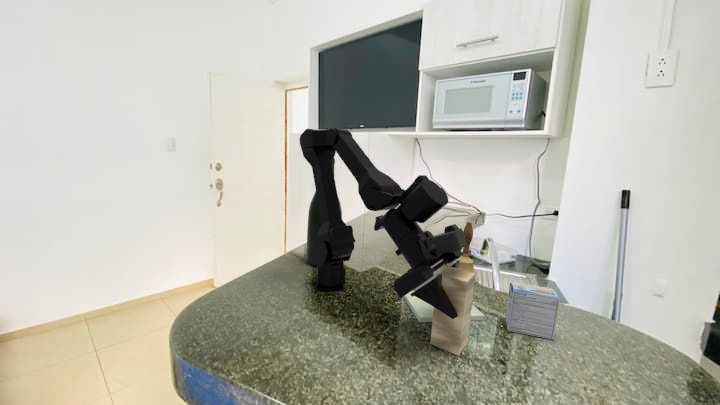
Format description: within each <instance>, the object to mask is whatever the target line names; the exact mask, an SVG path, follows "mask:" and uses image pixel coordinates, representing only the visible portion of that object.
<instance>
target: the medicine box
mask: <svg viewBox="0 0 720 405" xmlns="http://www.w3.org/2000/svg"><path fill="white" fill-rule="evenodd" d="M508 289H509V290H508V293H507V294H508V295H507V305H506V309H505V310H506V312H505V323H506V327H507V328H506V329H507V331H509V332H514V333H518V334H523V335H528V336H533V337H539V338H542V339H546V340H547V339H548V340H552V341H554V340H555V332H556V329H557V328H556V326H557V319H558V314H559V309H560V303H561V302H560V301H561V298H560V297H559V295H558V293H557V292H556V291H555V290H554V288H550V287H546V286H539V285H534V284H533V285H532V284H528V283H520V282H514V281H510V282H509V288H508Z"/></svg>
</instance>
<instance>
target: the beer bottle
mask: <svg viewBox="0 0 720 405" xmlns="http://www.w3.org/2000/svg"><path fill="white" fill-rule="evenodd" d="M335 163H336V160H335V157H334V158H333V161H332V168H333V173H334V174H335ZM338 201H339V206H340V212H341V217H342V218H343V215H342V214H343V213H342V212H343V210H342V206H341V201H340V197H338ZM307 216H308V218H307V230H306V231H307V232H306V254H305V258H306V262H307V263H308V264H309V265H311V266H313V267H314V266H315V267H317V265H316V264H314V263H312V262H311V258H310V253H311V252H312V251H313V250H314V249H315V247H316V246H317V245H318V238H317V236H318V233H319V230H320V227H321V225H322V222H321V216H320V210H319V205H318V199H317V193H316V190H315V191H314V194H313V197H312V198H311V201H310V204H309V208H308V215H307Z"/></svg>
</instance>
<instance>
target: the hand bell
mask: <svg viewBox="0 0 720 405" xmlns="http://www.w3.org/2000/svg"><path fill="white" fill-rule="evenodd" d="M473 228H474V227H473V224H472V222H469V221H467V222H466V224H465V226H464V228H463V230H462V231H463V232H465V233H466V236H465V237H464V239H465V242H466V244H467V246H466V247H463V248H462V253H463V254H464V255H462V256H461V257H459V258H458V259H456V260H455V261H456V262H457V261H459V260H460V263H459V266H458V269H461V270H465V271H468V272H472V273H476V271H475V268H474V263H475V262H474V260H473V259H472V258H470V257H469V256H470V246H471V243H472V241H473V236H474V229H473ZM456 262H455V263H456ZM479 282H480V279H479V276H478V275H477V274H476V276H475V284H476V283H479Z"/></svg>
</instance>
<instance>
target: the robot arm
mask: <svg viewBox="0 0 720 405" xmlns="http://www.w3.org/2000/svg"><path fill="white" fill-rule="evenodd" d="M299 145H300V148H301V152H302V155H303V158H304V159H305V160H306V162H308V164H309V165H310V166H311V169H312V174H313V176H312V177H313V180H314V182H313V183H314V186H315V188H314V189H315V191H316V193H317V199H318V205H319V210H320V216H321V222H322V225H321V227H320V230H319V233H318V236H317V238H318V245H317V246H316V247H315V249H314V250H313V251H312V252H311V253H310V258H311V262H312V263H314V264H316V265H317V266H316V268H317V270H316V279H315V281H316V282H315V283H316V291H343V290H344V285H346V266H345V265H344V262H348V261H349V262H350V260H351V256H352V254H353V251H354V250H355V243H356V239H355V236H354V230H353V229H354V228H353V227H352V225H351V224H350V225H347V224H346V222H344V220H343V216H342V217H341V212H340V206H339V201H340V200H339V201H338V198H339V195H338V190H337V185H336V179H335V172H334V173H333V168H332V161H333V158H335V156H336V154H337V155H338V157H339V158H340V160H341V161H342V162H343V163H344V165H345V166H346V168H347V169H348V171H350V174H352V176H353V177H354V179H355V180H356V182H357V184H358V186H357V188H358V189H357V192H358V195H359V197H360V198H361V201H362V202H363V204H364V207H365V208H366V209H367V210H369V211H372V212H379V211H387V212H385V213H384V214H381V215H378V216H376V217H375V223H374V228H373V230H374V231H375V232H377V231H379V230H382V229H384V230H385V232H386V234H388V236H389V237H390V239H391V241H392V242H393V243H394V244H395V246H396V247H397V249H396V250H395V251H394V253H395V255H396V256H397V257H400V256H401V255H402V256H403V258H404V260H405V261H406V262H407V264H408V265H409V267H410V268H409V269H408V270H407V271H406V272H405V273H403V274H401V276H399V277H397V278H396V279H395V280H394V281H393V286H392V289H393V290H394V292H395V293H396V295H397V296H398V297H397V298H399V299H401V298H404V297H403V296H405V295H406V294H408V293H409V292H411V291H414V292H413V293H411V294H410V295H411V296H412V297H413V296H415V297H417V298H419V299H421V300H423V301H424V302H426V303H428V304H430V305H431V306H433V307H435V308H436V309H438V310H439V311H441V312H442V313H444V314H446V315H447V316H449V317H450V318H452V319H454V318H456V317H457V316H458V314H457V312H456V310H455V308H454V306H453V305H452V303H451V301H450V299H449V298H448V296H447V294H446V292H445V291H444V289H443V287H442V273H441V274H440V275H438V276H437V273H439V272H440V271H441V270H443V269H444V268H446V267H447V266H449V267H453V268H457V269H458V266H459V263H460V260H459V261H457V259H458V258H459V257H462V255H464V254H463V248H464V247H466V246H467V244H466V242H465V239H464V237H465V236H466V233H465V232H463V231H464V230H463V229H462V227H458V225H456V223H453V224H450V225H448V226H445V227H444V232H443V233H438V234H436V235H434V234H432V232H431V231H430V230H425V231H424V230H423V228H422V227H421V226H420V225H419V223H420V224H424V223H426V222H427V221H429V219H431V218H432V217H434V216H435V215H436V214H438V212H439V211H441V209H443V208H444V207H445V206H446V205H447V204H448V203H449V196H448V195H447V193H446V191H445V189H444V188H443V187H441V186H440V185H439V184H438V183H436V182H434V181H433V180H431V179H429V177H428V175H420V174H419V175H418V176H416V177H415V179H414V180H413V182H412V183H411V184H410V185H409V186H408V187H407V188H406V189H404V188H402V187H401V186H400V184H399V183H398V182H396V180H394V179H393V178H392V177H390V176H389V175H387V174H386V173H384V172H382V171H381V170H380V169H378V168H377V167H376V166H375V165H374V163H373V161H371V159H370V158H369V156H367V154H366V153H365V152H364V150H363V148H361V146H360V145H359V144H358V142H356V140H355V139H354V136H353V134H352V132H351V131H350V130H348V129H345V128H344V129H343V128H338V127H332V128H328V129H314V128H313V129H311V128H306V129H305V130H304V131H303V132H302V133H301V134H300V136H299ZM454 261H457V262H454Z"/></svg>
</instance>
